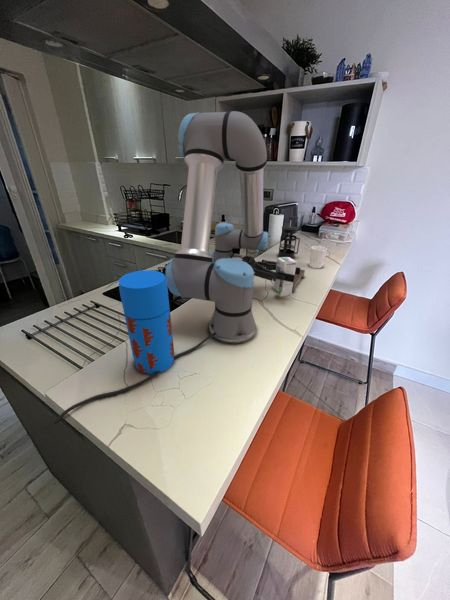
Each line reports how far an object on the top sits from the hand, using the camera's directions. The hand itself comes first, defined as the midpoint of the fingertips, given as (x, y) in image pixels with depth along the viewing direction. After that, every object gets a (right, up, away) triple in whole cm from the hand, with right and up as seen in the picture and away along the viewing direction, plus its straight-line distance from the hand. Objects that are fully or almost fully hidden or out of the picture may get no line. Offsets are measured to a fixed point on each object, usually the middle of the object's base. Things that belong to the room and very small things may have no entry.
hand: (296, 274), depth 99 cm
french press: (+9, +16, +52) cm, 55 cm away
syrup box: (-4, -7, +6) cm, 10 cm away
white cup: (+21, +8, +39) cm, 45 cm away
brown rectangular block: (+3, -2, +20) cm, 20 cm away
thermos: (-47, -27, -27) cm, 61 cm away
